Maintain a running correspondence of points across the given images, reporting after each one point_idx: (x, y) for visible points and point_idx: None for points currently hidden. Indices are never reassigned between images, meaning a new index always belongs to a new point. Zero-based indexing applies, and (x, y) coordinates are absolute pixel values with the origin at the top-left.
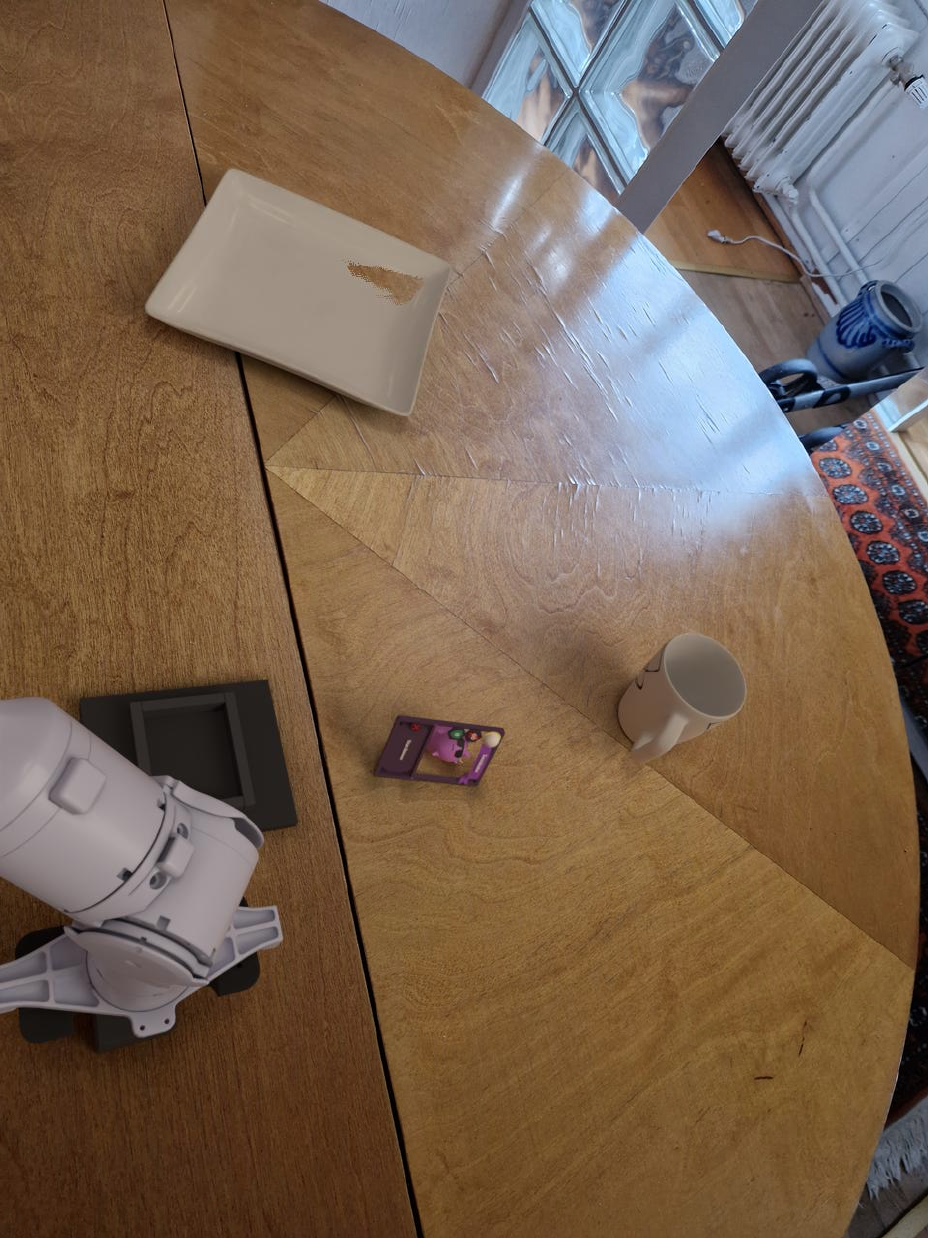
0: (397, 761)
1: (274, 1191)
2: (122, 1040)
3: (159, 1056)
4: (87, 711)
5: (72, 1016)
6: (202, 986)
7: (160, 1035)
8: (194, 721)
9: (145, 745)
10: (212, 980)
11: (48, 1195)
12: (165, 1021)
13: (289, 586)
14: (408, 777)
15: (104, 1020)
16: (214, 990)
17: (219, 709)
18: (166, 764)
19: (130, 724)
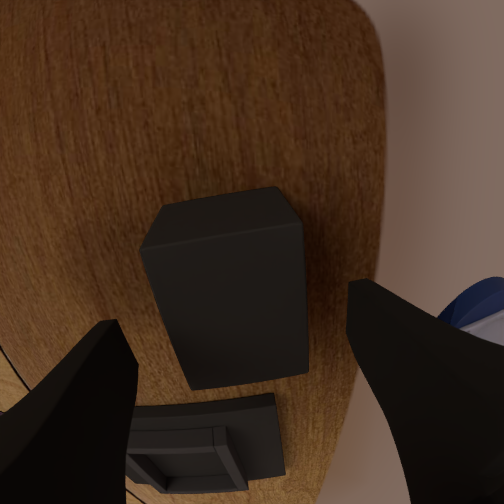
0: None
1: (26, 7)
2: (253, 228)
3: (177, 173)
4: (280, 471)
5: (377, 311)
6: (87, 358)
7: (176, 209)
8: (189, 473)
9: (232, 477)
10: (37, 473)
11: (337, 17)
12: (164, 259)
13: (139, 500)
14: (1, 414)
15: (290, 269)
16: (16, 461)
17: (169, 478)
18: (209, 457)
19: (245, 474)
